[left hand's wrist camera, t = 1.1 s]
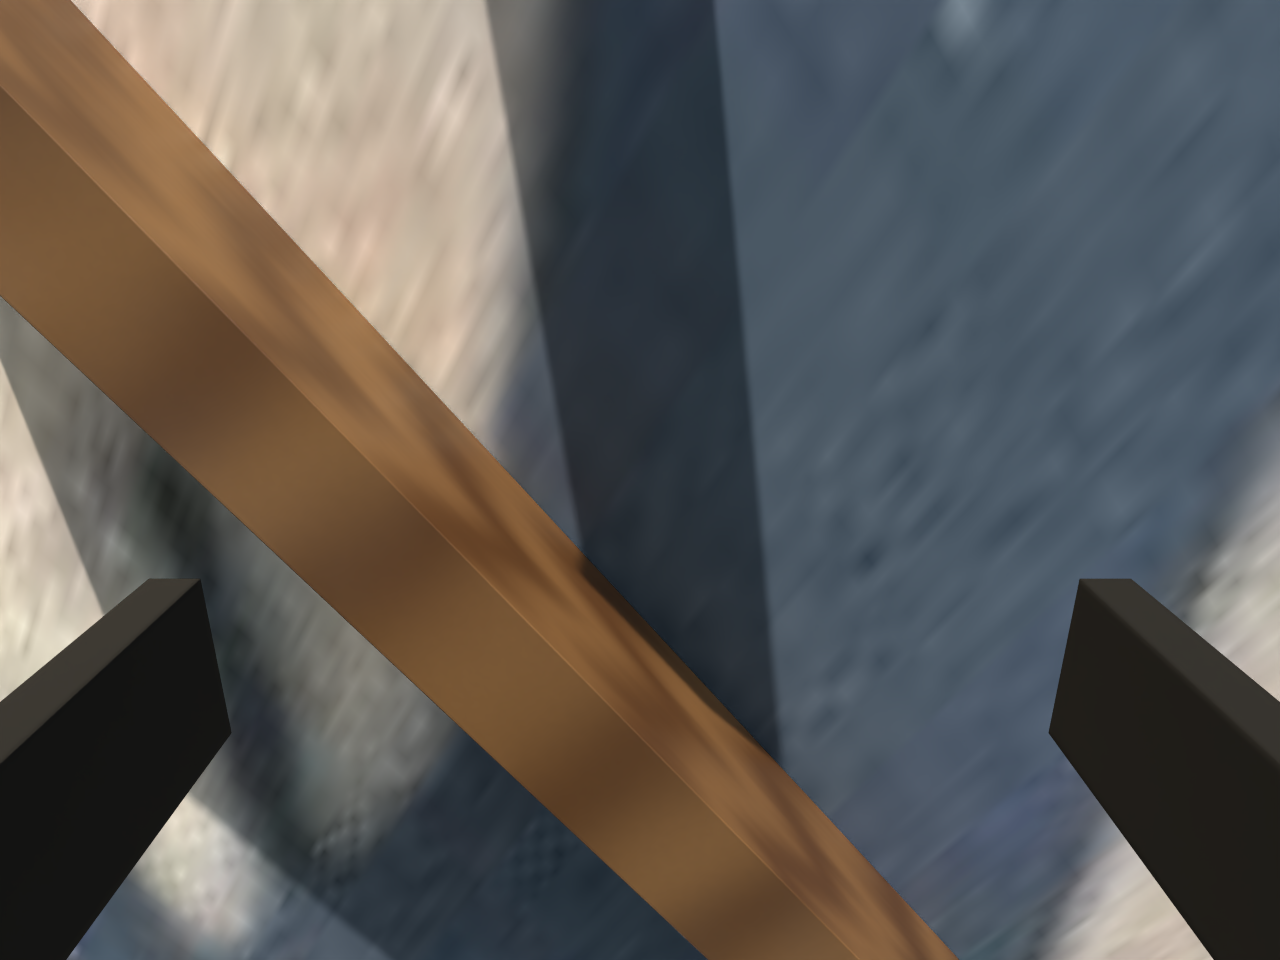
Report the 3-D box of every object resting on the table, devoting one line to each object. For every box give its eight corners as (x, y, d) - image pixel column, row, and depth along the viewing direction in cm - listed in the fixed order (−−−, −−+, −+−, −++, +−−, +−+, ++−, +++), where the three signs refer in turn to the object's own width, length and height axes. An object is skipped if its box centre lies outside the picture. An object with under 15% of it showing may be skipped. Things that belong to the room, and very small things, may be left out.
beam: (-177, -74, 28) (-494, -166, 20) (-98, -182, 27) (-399, -322, 19) (998, 1114, 49) (1066, 1296, 41) (1071, 1080, 48) (1154, 1260, 40)
